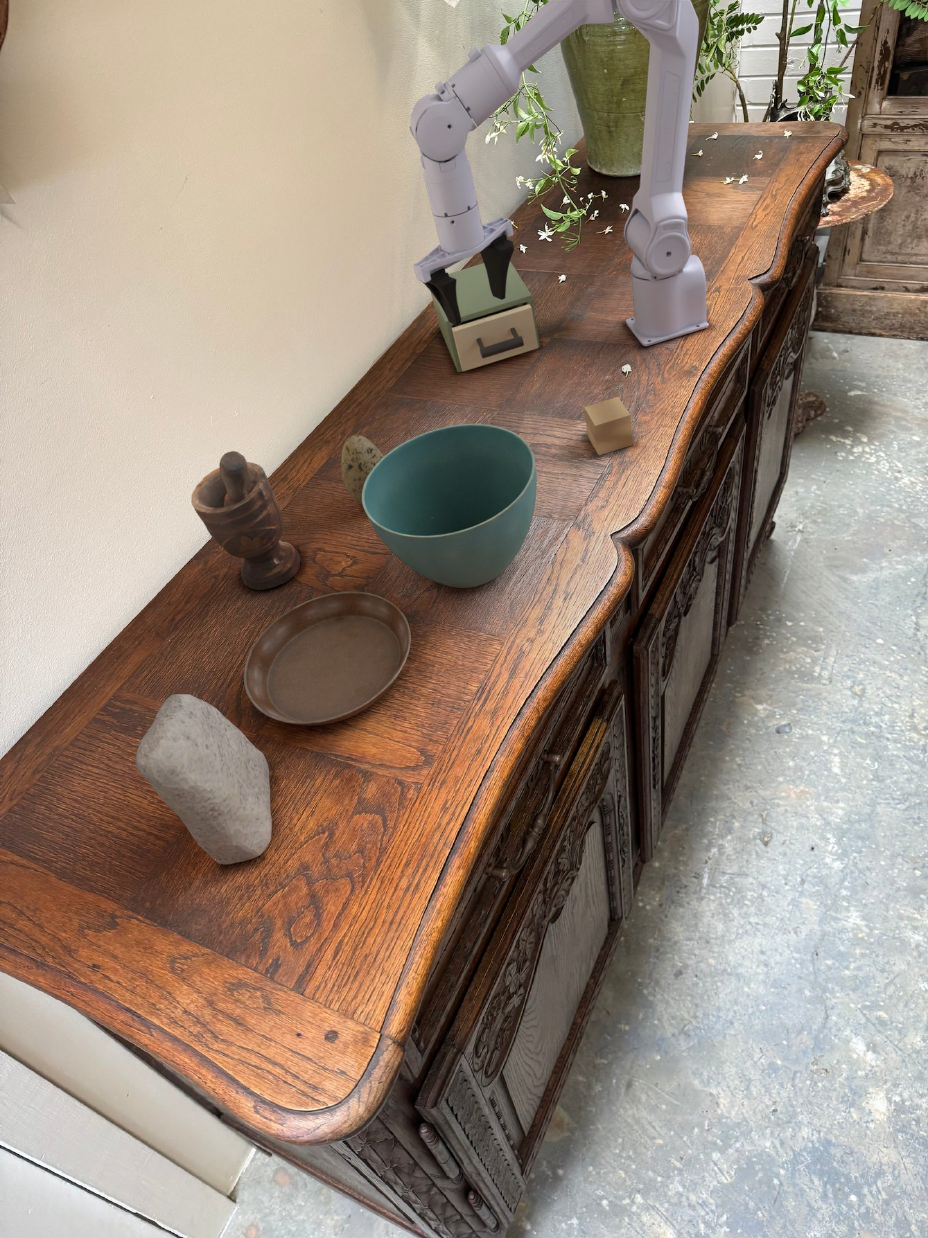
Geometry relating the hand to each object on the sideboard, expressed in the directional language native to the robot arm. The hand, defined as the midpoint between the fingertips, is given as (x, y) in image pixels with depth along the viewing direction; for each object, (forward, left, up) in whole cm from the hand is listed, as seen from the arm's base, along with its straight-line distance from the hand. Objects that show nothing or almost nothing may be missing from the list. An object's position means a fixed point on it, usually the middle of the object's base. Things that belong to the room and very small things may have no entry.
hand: (477, 309), depth 113 cm
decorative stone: (+38, +61, -10) cm, 73 cm away
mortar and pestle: (+33, +29, -10) cm, 45 cm away
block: (-10, +23, -10) cm, 27 cm away
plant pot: (+11, +37, -10) cm, 40 cm away
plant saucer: (+28, +47, -10) cm, 56 cm away
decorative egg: (+20, +21, -10) cm, 31 cm away
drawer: (-2, -7, -9) cm, 12 cm away
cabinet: (-2, -11, -10) cm, 15 cm away
